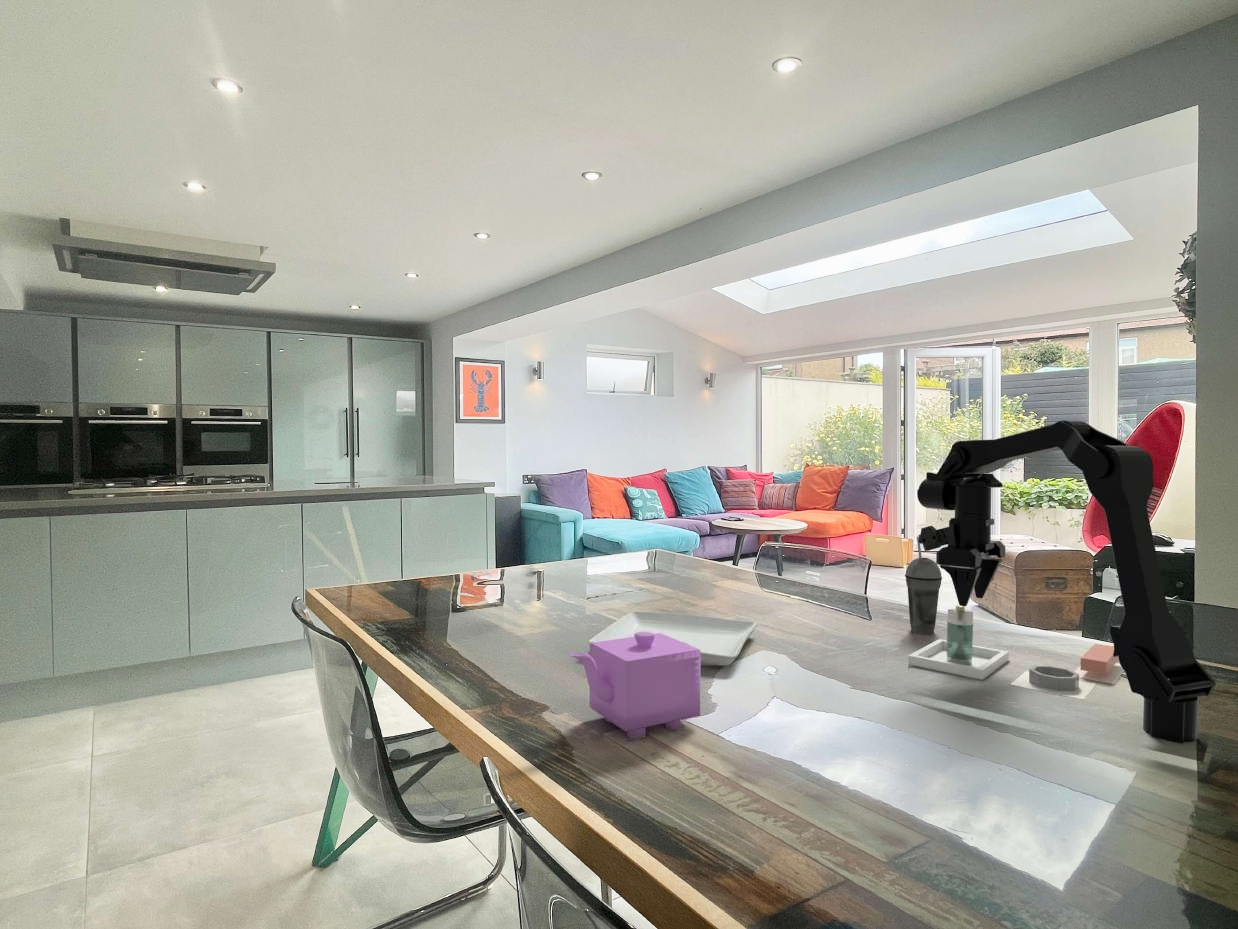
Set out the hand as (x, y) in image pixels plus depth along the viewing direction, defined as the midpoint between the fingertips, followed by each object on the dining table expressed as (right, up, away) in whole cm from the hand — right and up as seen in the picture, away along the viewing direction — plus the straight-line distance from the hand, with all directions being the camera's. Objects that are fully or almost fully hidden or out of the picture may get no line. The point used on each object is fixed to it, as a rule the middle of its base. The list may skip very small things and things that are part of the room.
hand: (971, 601), depth 127 cm
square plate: (-50, -12, +13) cm, 53 cm away
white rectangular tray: (-2, -12, +1) cm, 12 cm away
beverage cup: (+2, -11, +26) cm, 28 cm away
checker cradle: (+14, -12, -6) cm, 19 cm away
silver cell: (-2, -11, +1) cm, 11 cm away
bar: (+20, -10, -3) cm, 23 cm away
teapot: (-59, -12, -26) cm, 66 cm away
